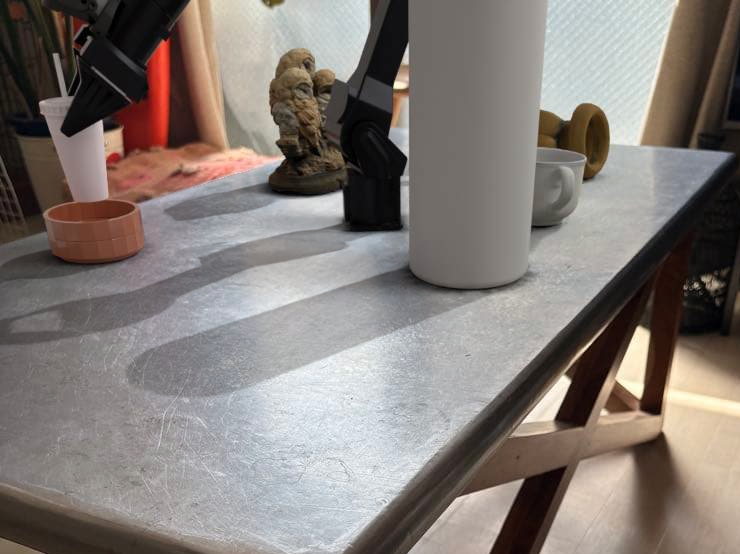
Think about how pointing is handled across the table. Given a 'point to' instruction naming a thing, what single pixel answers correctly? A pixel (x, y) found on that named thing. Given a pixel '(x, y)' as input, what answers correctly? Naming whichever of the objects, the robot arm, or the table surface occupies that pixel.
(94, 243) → the bowl
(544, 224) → the teacup
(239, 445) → the table surface
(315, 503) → the table surface
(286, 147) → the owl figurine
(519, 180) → the cylinder vase
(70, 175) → the smoothie
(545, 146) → the brown looped sculpture
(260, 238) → the table surface
